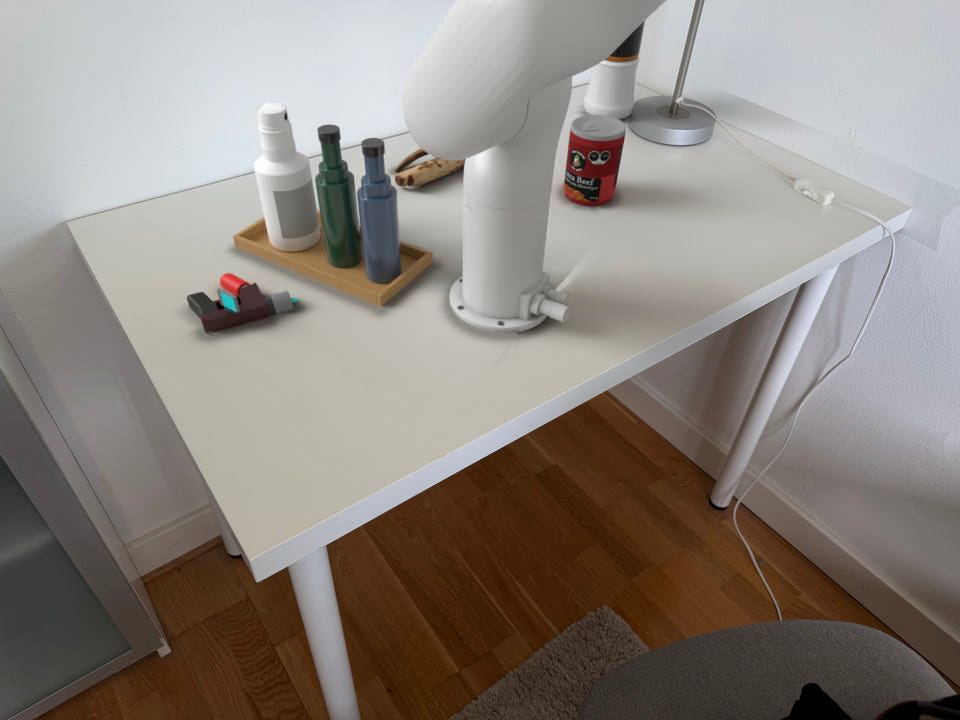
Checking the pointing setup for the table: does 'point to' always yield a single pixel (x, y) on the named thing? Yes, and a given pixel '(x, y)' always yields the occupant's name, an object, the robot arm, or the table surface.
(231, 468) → the table surface
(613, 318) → the table surface
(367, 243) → the slate bottle
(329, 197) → the green bottle
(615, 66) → the vodka
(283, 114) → the spray bottle
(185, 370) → the table surface
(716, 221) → the table surface
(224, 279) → the toy gun
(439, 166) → the lashed bone hook
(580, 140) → the canned food
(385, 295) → the tray
